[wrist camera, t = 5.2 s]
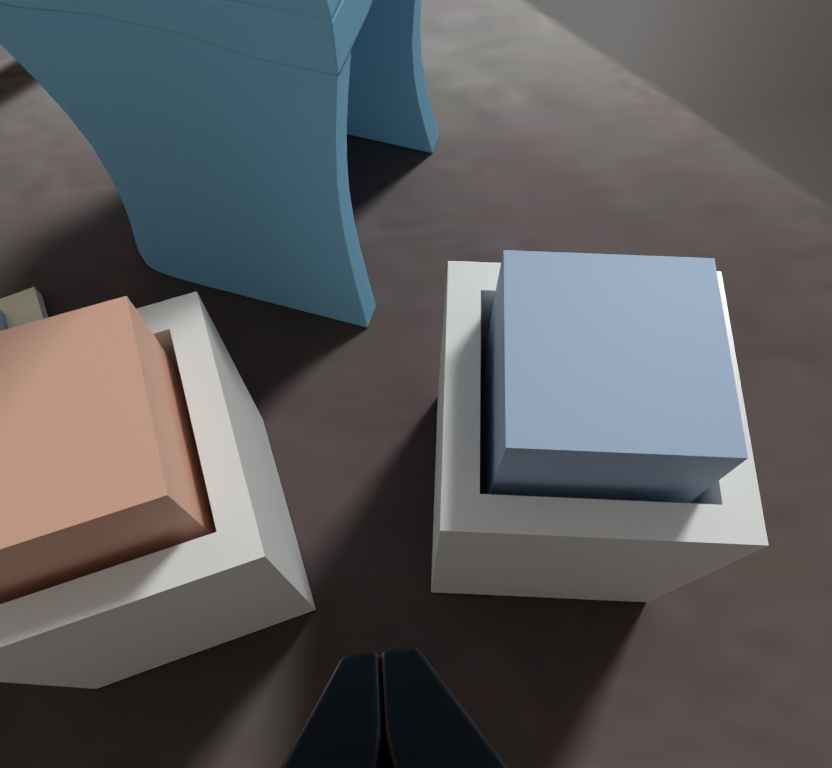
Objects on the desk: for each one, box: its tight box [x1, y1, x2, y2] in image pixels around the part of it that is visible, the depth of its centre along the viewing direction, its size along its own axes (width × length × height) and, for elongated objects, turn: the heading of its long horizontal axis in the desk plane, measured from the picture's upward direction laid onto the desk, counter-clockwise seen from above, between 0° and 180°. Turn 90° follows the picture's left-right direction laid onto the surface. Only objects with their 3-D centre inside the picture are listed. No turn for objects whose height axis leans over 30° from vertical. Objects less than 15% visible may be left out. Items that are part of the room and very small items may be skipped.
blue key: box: [480, 250, 748, 503], centre depth 17 cm, size 4×4×7 cm
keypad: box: [0, 261, 768, 689], centre depth 17 cm, size 11×30×8 cm, turn 115°
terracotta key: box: [0, 296, 217, 604], centre depth 16 cm, size 4×4×7 cm
